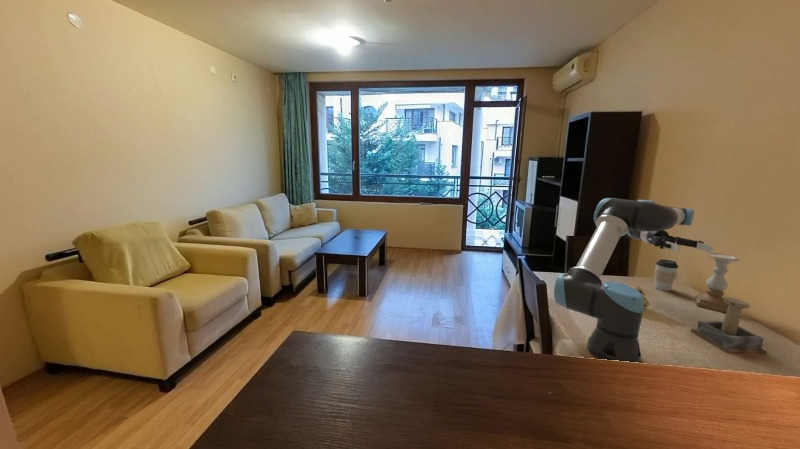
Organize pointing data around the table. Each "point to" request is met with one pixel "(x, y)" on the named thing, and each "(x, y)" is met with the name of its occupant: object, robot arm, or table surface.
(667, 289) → the coffee cup
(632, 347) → the robot arm
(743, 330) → the socket
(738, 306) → the handle
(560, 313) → the table surface
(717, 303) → the candle holder
